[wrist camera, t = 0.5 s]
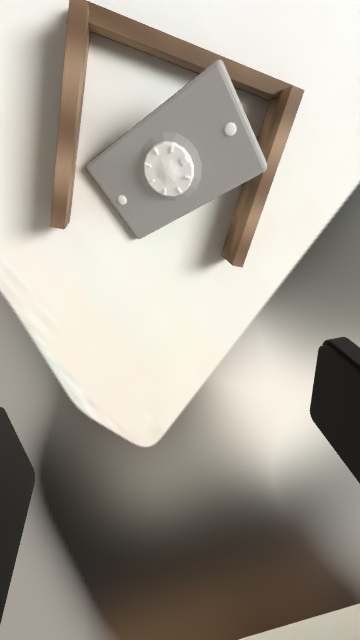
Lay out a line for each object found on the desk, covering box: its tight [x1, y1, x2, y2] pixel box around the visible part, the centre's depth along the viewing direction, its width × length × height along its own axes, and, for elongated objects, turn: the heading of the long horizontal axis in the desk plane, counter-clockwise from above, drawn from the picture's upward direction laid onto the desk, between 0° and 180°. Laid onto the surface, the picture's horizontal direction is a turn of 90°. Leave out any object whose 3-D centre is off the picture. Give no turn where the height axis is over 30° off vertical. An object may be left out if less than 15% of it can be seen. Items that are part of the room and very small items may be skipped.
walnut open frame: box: [50, 0, 304, 267], centre depth 29 cm, size 17×19×4 cm
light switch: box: [86, 59, 267, 239], centre depth 29 cm, size 8×6×14 cm
